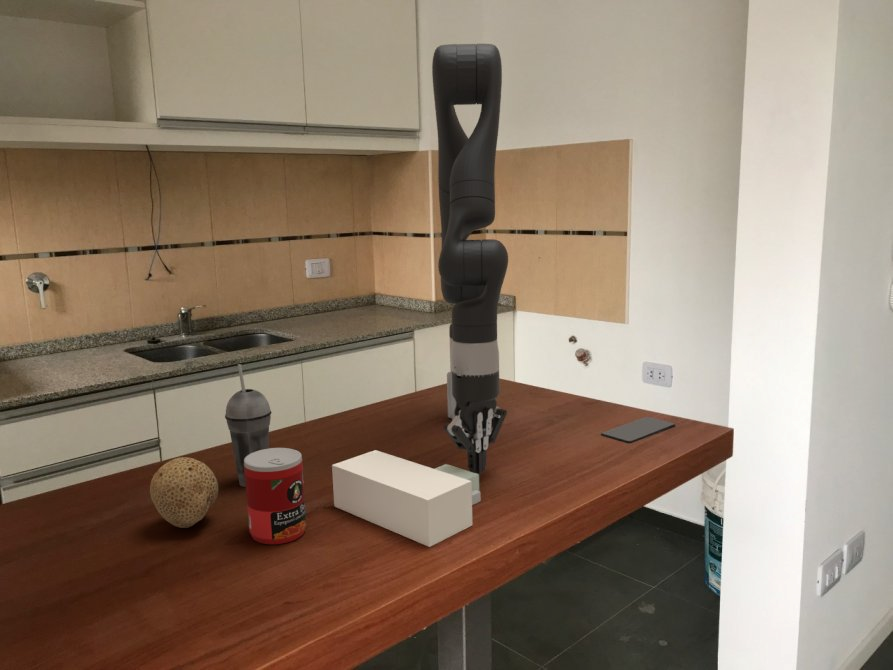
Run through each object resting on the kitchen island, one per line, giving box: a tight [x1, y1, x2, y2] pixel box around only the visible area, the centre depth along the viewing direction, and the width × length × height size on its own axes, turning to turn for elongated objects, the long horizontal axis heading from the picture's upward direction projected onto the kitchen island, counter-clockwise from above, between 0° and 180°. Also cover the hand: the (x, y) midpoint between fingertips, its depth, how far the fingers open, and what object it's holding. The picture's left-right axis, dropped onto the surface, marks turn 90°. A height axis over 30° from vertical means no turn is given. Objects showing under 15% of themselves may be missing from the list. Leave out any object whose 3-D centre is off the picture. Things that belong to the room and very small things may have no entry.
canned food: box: [244, 447, 307, 545], centre depth 100 cm, size 8×8×11 cm
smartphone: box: [600, 416, 676, 444], centre depth 140 cm, size 7×1×15 cm
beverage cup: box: [224, 363, 272, 488], centre depth 117 cm, size 7×7×20 cm
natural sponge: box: [149, 456, 219, 529], centre depth 103 cm, size 9×9×10 cm
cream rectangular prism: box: [331, 449, 482, 548], centre depth 107 cm, size 20×16×6 cm
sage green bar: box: [434, 463, 480, 491], centre depth 109 cm, size 7×16×3 cm, turn 136°
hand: (477, 471), depth 118 cm, fingers closed
